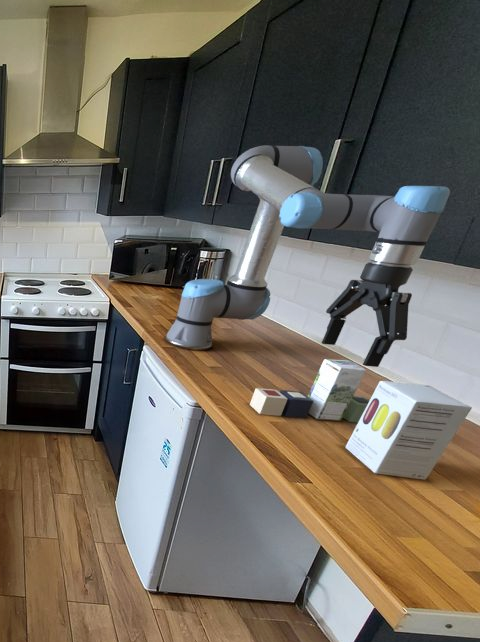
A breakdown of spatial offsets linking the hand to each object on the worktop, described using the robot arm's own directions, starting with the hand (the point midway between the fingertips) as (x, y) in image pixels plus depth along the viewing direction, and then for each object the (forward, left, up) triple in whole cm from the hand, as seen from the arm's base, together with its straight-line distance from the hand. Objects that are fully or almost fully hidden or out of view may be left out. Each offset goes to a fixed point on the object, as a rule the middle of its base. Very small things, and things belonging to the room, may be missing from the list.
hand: (347, 354), depth 95 cm
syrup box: (0, 0, -17) cm, 17 cm away
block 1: (0, -13, -17) cm, 21 cm away
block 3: (0, +8, -17) cm, 18 cm away
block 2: (0, -7, -17) cm, 18 cm away
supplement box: (+20, 0, -17) cm, 26 cm away
